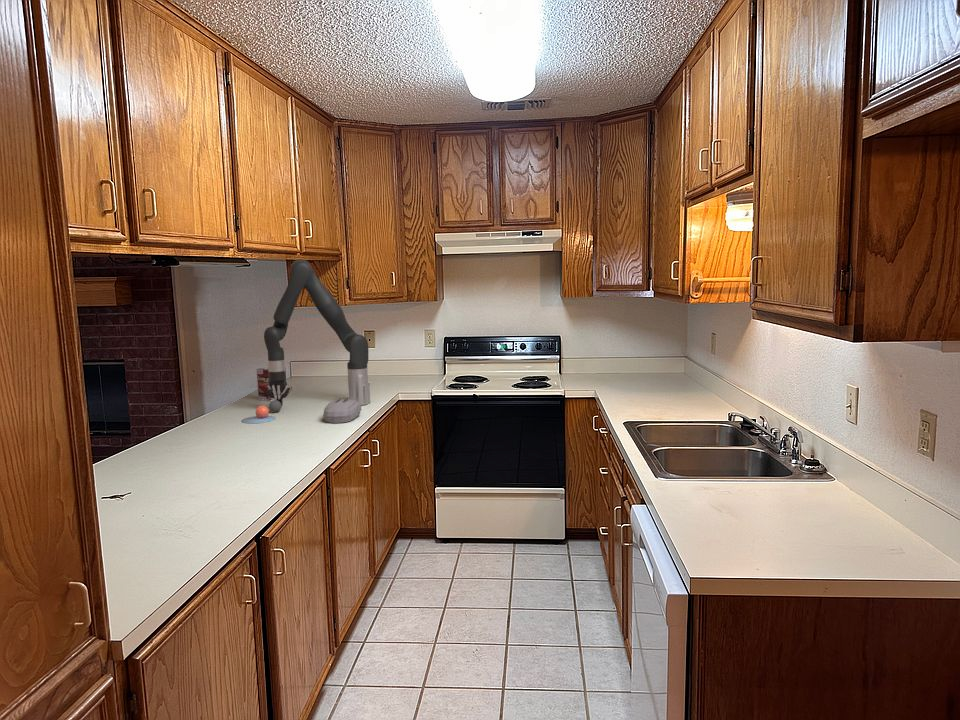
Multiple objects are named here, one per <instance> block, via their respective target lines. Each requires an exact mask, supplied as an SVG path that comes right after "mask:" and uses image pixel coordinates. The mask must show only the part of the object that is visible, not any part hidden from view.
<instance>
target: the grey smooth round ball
mask: <svg viewBox="0 0 960 720" xmlns="http://www.w3.org/2000/svg"><path fill="white" fill-rule="evenodd" d="M268 410H269V412H272V413H278V412H279V411H281V410H282V407H281V403H280V402H279V401H277V400H274V401H271V402H270V401H269V404H268Z"/></svg>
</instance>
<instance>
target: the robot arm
mask: <svg viewBox="0 0 960 720" xmlns="http://www.w3.org/2000/svg"><path fill="white" fill-rule="evenodd" d="M289 275H290V276H289V280H288V284H287V286H286V289H285V291H284V293H283V294H282V296H281V298H280V301H279V302H278V304H277V306H276V309H275V311H274V313H273V320H274V322H273V324H272V326H269V327H266V329H265V330H264V333H263V339H264V343H265V348H266V350H267V360H268V361H267V368H268V373H269V385H268V386H267V387H265V388H264V389H265V391H266V392H267V393H268V394H269V396H270V397H271V398H274V399H275V400H277V401H279V402H280V403H281V408H282V407H283V406H284V405H283V404H284V401H283V400H284V399H285V398H286V397H288V395H289V394H290V392H291V391H292V390H293V387H292V386H289V384H288V383H287V373H286V371H287V370H286V369H287V368H286V362H285V361H286V360H285V352H284V348H283V347H282V346H281V343H280V342H281V341H282V340H283V339H284V338H285V336H286V334H287V331H288V327H289V321H290V320H291V317H292V315H293V313H294V309H295V308H296V304H297V302H298V299H299V297H300V295H301V293H302V290H304V289H305V290H306V291H307V294H308V295H309V297H310V299H311V301H312V303H313V304H314V307H315V308H316V309H317V311H318V312H319V314H320V316H322V318H323V319H324V320H325V322H326V323H327V324H328V325H329V326H330V328H331V329H332V330H333V331H334V332H335V334H336V335H337V337H338V339H339V340H340V342H341V344H342V346H343V347H344V349H345V350H346V351H347V352H348V353H349V360H348V362H347V365H346V367H347V383H348V384H347V385H348V400H355V401H358V402H359V403H360V404H361V406H367V405H369V404H371V387H370V382H369V380H368V379H369V377H368V376H369V375H368V364H369V343H368V339H367V337H366V336H364V335H362V334H358V333H357V332H355V330H353V328H352V326H350V324H349V323H348V320H347V317H346V316H345V313H344V311H343V309H342V307H341V305H340V304H339V303H338V300H336V298H334V296H333V295H332V293H331V292H330V291H329V290H328V289H327V288H326V287H325V285H324V284H323V283H322V282H321V280H320V279H319V278H318V276H317V274H316V273H315V271H314V269H313V267H312V265H311V263H310V262H309V261H308V260H305V259H302V258H299V259H295V260H294V261H293V262H292V263H291V265H290V274H289ZM271 389H272V390H273V391H272V390H271Z"/></svg>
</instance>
